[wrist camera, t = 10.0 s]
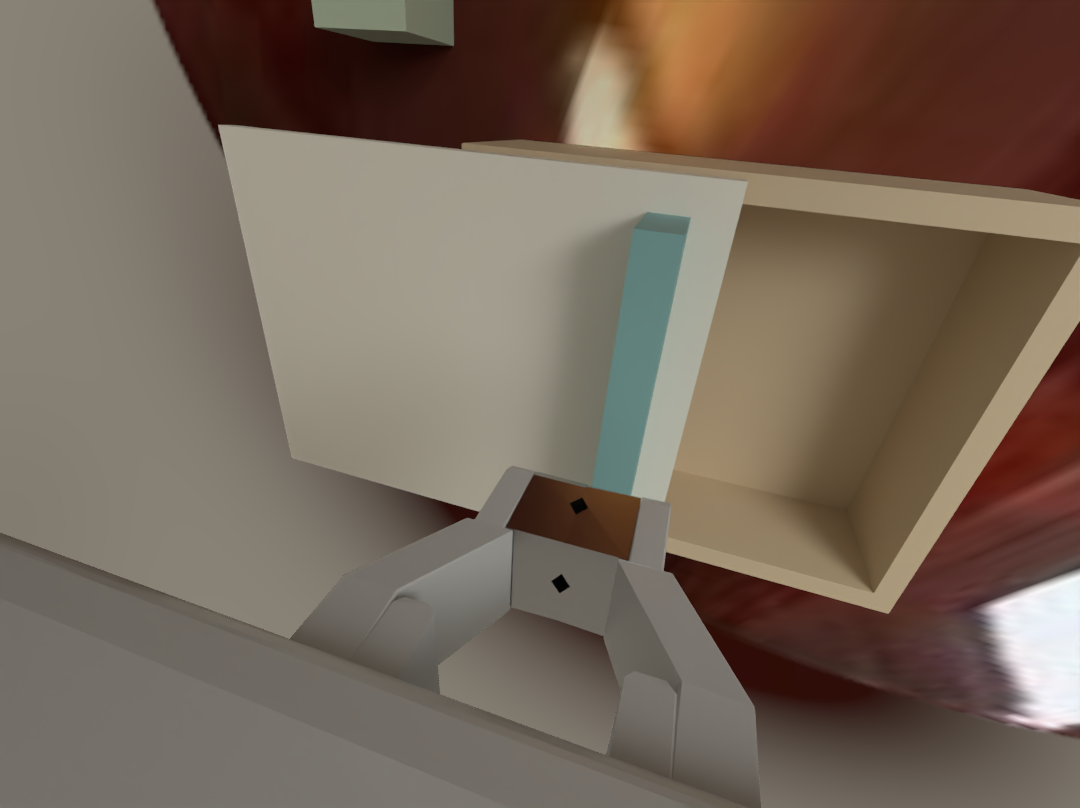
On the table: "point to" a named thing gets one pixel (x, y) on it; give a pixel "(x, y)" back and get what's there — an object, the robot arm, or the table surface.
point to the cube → (388, 20)
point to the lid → (479, 308)
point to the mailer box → (856, 364)
